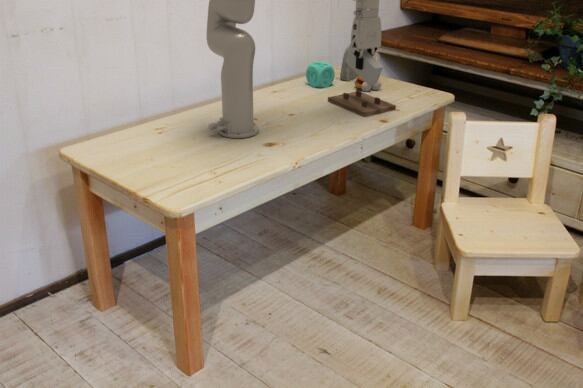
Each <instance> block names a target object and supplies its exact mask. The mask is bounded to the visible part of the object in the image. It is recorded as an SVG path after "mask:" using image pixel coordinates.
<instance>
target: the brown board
mask: <svg viewBox="0 0 583 388" xmlns="http://www.w3.org/2000/svg"><path fill="white" fill-rule="evenodd" d="M362 91H363V90H362ZM362 91H361V90H358V89H356V90H355V91H353V92H352V91H351V92H348V93H347V92H343V93H342V94H338V95H333V96H328V97H327V102H328V103H331V104H333V105H335V106H339V107H340V108H343V109H345V110H347V111H349V112H352V113H354V114H356V115H358V116H361V117H363V118H367V117H371V116H374V115H378V114H380V115H381V114H382V113H383V114H384V113H387V112H392V111H396V110H397V109H396V108H397V105H395V104H394V103H393V104H392V103H391V102H388V101H385V100H383V99H381V98H380V97H377V96H376V97H375V96H372V95H370V94H367V93H364V92H362Z"/></svg>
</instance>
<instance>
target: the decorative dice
mask: <svg viewBox="0 0 583 388" xmlns="http://www.w3.org/2000/svg"><path fill="white" fill-rule="evenodd" d="M335 74H336V72H335V69H334V67H333V65H332V64H331V63H329V62H325V61H315V62H310V64H309V65H308V67H307V68H306V71H305V78H306V82H307V83H308V85H309V86H311V87H312V88H316V89H317V88H321V89H322V88H323V89H324V88H328V87H331V85H332V84H333V82H334V80H335Z"/></svg>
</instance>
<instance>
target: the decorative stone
mask: <svg viewBox="0 0 583 388" xmlns="http://www.w3.org/2000/svg"><path fill="white" fill-rule="evenodd" d="M350 45H351V43H350V44H348V45H347V46H346V48H345V50H344V52H343V57H342V61H341V65H340V66H341V67H340V73H339V78H340V80H341V81H347V82H348V81H351V80H354V79H356V78H357V76H359V75H358V74H357V73H356V72H355V71H354V70H353V69H352V68H351V67H350V66H349V65H348V64H347V63H346V62H345V61H346V58H347V55H348V52H349V50H348V49H349V47H350ZM359 77H360V76H359Z"/></svg>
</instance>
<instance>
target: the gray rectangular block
mask: <svg viewBox="0 0 583 388" xmlns="http://www.w3.org/2000/svg"><path fill="white" fill-rule="evenodd" d="M355 48H356V47H355ZM362 58H363V69H362V70H360V69H357V68H356V57H355V56H354V54H353V53H352V52H350V51H349V52H348V55H347V58H346V61H345V62H346V63H347V64H348V65H349V66H350V67H351V68H352V69H353V70H354V71H355V72H356V73H357V74H358V75H359V76H360V77H361V78H362V79H363V80H364V81H365V82H366V83H367V84H368V85H369V86H370V85H374V84H377V82H378V80H379V79H380V76H381V74H382V71H383V69H384V66H383V65H382V64H381V63H380V62H379V61H378V60H377V59H376V58H375V57H374V56H373V57H372V56H371V55H370V54H369V53H368V52H367V49H364V50H363V55H362Z"/></svg>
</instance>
